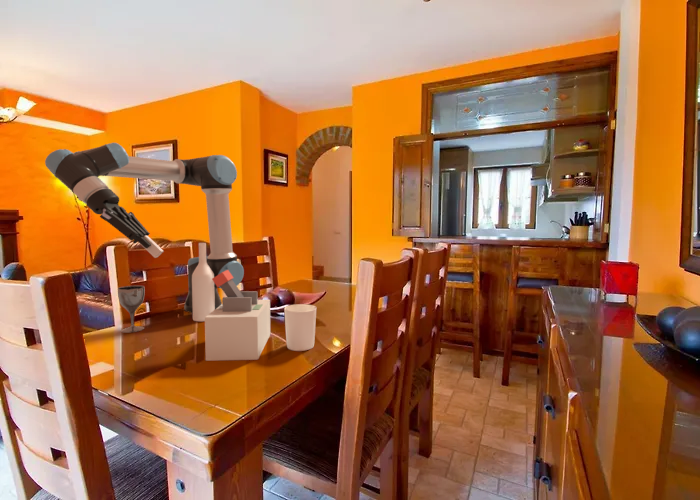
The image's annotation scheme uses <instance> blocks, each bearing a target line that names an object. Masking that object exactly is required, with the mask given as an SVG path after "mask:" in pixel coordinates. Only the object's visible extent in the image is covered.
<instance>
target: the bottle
mask: <svg viewBox="0 0 700 500" xmlns="http://www.w3.org/2000/svg"><path fill="white" fill-rule="evenodd" d="M206 256H207V243H206V242H198V257H199V264H198V266H197V267H196V269H195V270H194V272H193V274H192V306H193V312H192V320H193V321H194V322H205V317H206V316H207V315H209V314H210V313H211V312H212V311H214V310H215V291H214V281H213V280H212V279H213V278H214V273H213V271H212V270H211V268H210V267H209V266H208V264H207V260H206Z"/></svg>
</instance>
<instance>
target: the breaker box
mask: <svg viewBox="0 0 700 500" xmlns="http://www.w3.org/2000/svg"><path fill="white" fill-rule="evenodd" d="M240 292H241V293H242V295H243V296H244V297H227V296H226V297H225V296H224V297H222V299H221V302H222V305H220V306H219V307H218V308H216V309H215V310H214V311H212V312H211V313H210V314H209V315H207V316H206V317H205V321H204V336H205V337H204V339H205V340H204V341H205V342H204V343H205V361H206V362H207V361H210V362H211V361H249V360H250V361H253V360H254V361H256V360H257V361H258V360H259V359H260V356H261V354H262V352H263V351H264V348H265V346H266V344H267V342H268V340H269V338H270V337H271V299H258V290H257V291H256V290H255V291H253V290H252V291H249V290H246V291H245V290H244V291H243V290H240Z"/></svg>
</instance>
